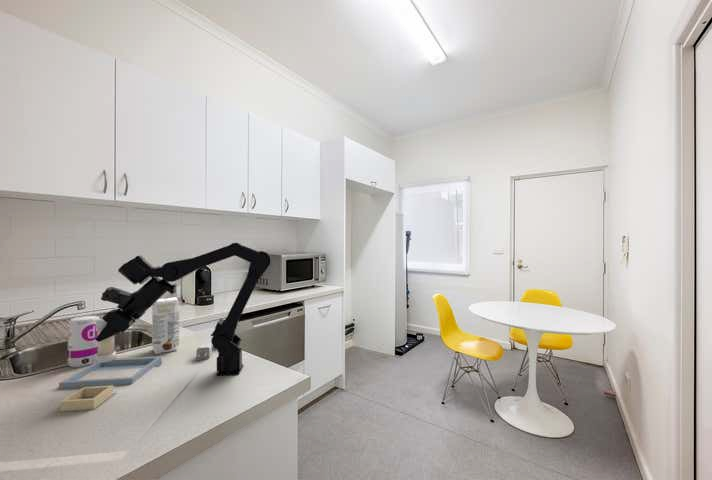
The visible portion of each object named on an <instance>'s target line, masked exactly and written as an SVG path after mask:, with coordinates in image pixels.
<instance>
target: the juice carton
mask: <svg viewBox="0 0 712 480" xmlns="http://www.w3.org/2000/svg"><path fill="white" fill-rule="evenodd" d="M151 307H152V308H151V309H152V310H151V315H152V318H151V320H152V321H151V323H152V325H151V328H152V329H151V338H152V339H151V340H152V341H151V342H152V343H151V344H152V345H151V346H152V349H153V351H154V355H159V354H163V353H169V352H175V350H176V351H177V350H178V348H179V344H180V303H179V299H178V298H177V297H169V298H159V299H158V300H157V301H156V302H155V303H154V304H153V305H152V306H151Z"/></svg>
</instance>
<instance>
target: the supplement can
mask: <svg viewBox="0 0 712 480" xmlns="http://www.w3.org/2000/svg"><path fill="white" fill-rule="evenodd" d="M97 320H101V318H100V317H99V315H94V314H93V315H84V316H83V315H82V316H78V317H74V318H71V319H70V321H69V322H68V324H67V365H68V364H69V365H68V366H69V367H71V368H81V367H88V366H91V365H92V364H94V363H96V354H98V341H96V340H95V339H96V338H97V336H98V329H96V321H97Z"/></svg>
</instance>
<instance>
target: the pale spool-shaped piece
mask: <svg viewBox="0 0 712 480" xmlns="http://www.w3.org/2000/svg"><path fill="white" fill-rule="evenodd" d="M106 324H107V322H106V321H104V320H103V319H101V318H100V320H97V321H96V329H98V335H99V334H100V332H101V331H102V330H103V328H104V327H105V326H106ZM114 359H117V350H115V335H113V336H111V337H109V338H107V339H104V340H102V341H100V342H98V354H96V363H104V362H109V361H112V360H114Z"/></svg>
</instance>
